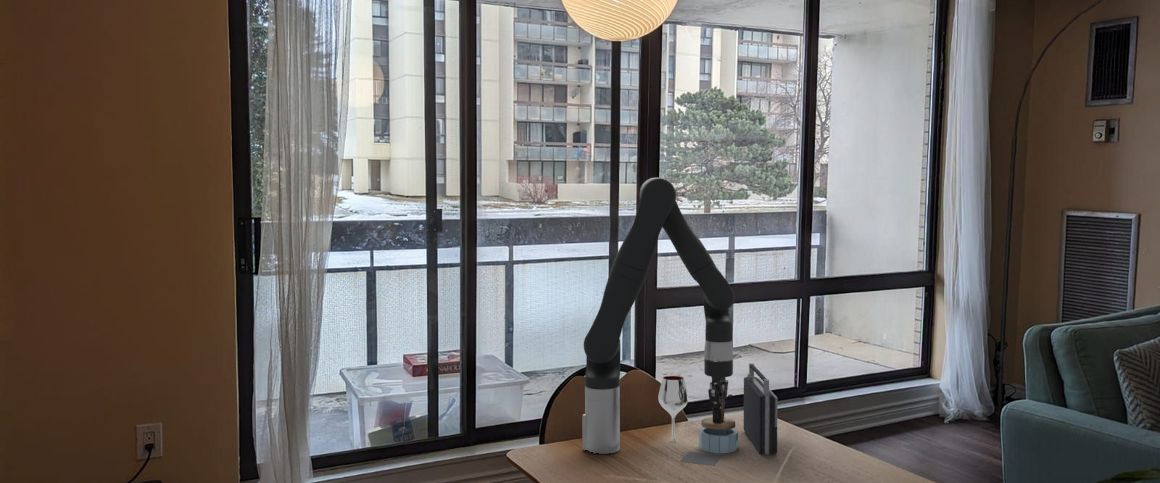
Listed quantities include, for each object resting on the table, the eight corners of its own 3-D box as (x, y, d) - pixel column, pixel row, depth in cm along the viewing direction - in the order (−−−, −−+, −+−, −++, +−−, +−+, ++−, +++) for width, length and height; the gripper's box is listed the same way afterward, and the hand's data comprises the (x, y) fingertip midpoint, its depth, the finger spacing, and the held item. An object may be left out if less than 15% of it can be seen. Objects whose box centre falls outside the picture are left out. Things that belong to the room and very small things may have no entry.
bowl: (695, 452, 224) (695, 434, 224) (704, 442, 234) (704, 424, 233) (733, 456, 221) (733, 437, 220) (740, 446, 230) (740, 428, 230)
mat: (679, 463, 215) (679, 461, 215) (688, 453, 224) (688, 451, 224) (714, 467, 212) (714, 465, 212) (722, 457, 220) (722, 455, 220)
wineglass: (694, 443, 233) (694, 378, 232) (671, 448, 228) (671, 382, 227) (674, 436, 240) (674, 373, 239) (652, 441, 235) (652, 377, 234)
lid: (731, 431, 221) (731, 408, 221) (697, 427, 224) (697, 405, 224) (738, 422, 229) (738, 400, 229) (705, 419, 233) (705, 397, 232)
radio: (779, 456, 221) (780, 380, 220) (759, 456, 221) (759, 380, 220) (761, 431, 245) (761, 362, 244) (743, 431, 245) (743, 362, 244)
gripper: (710, 352, 234) (710, 414, 235) (698, 361, 221) (698, 426, 222) (737, 353, 231) (737, 416, 232) (727, 363, 218) (726, 429, 219)
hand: (718, 421), depth 227 cm, fingers closed on lid, 3 cm apart
